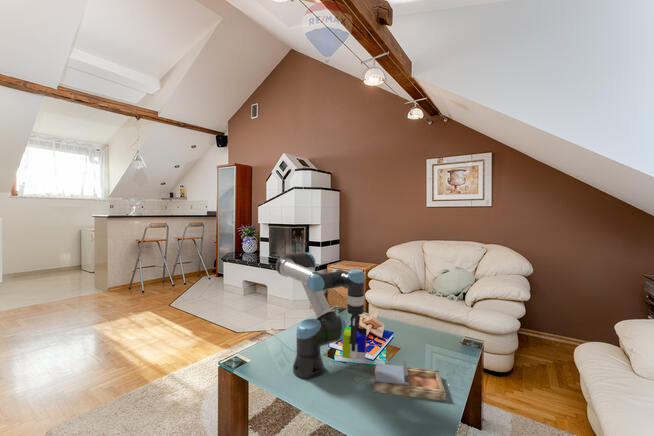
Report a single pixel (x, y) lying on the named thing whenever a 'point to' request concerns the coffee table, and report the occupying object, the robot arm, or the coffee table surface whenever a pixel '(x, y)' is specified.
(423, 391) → the board
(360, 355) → the puzzle toy
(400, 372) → the lid
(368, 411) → the coffee table surface
